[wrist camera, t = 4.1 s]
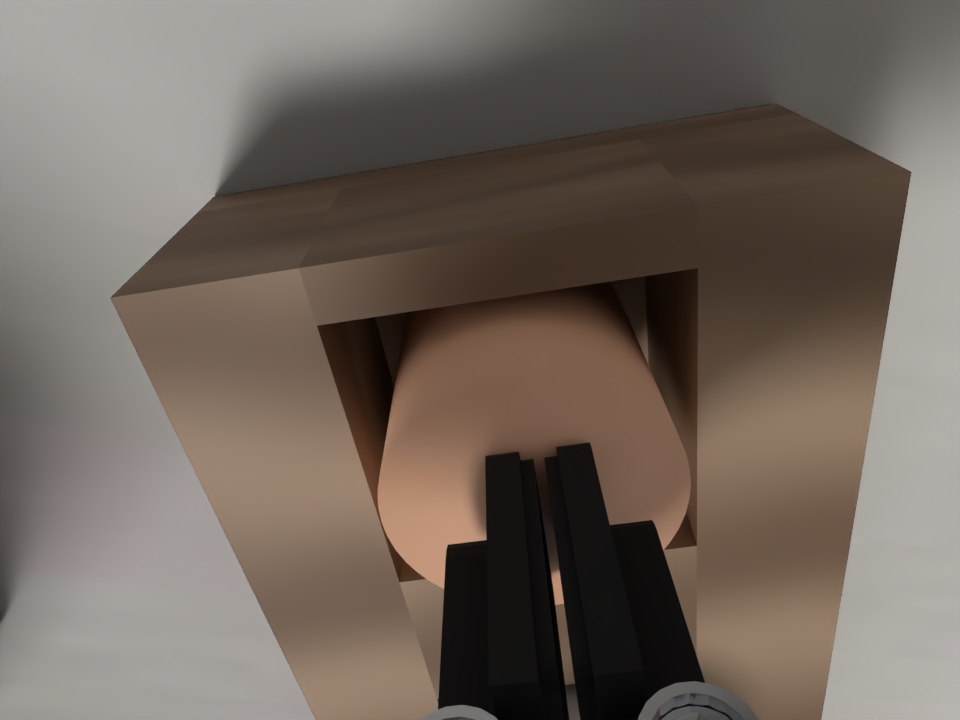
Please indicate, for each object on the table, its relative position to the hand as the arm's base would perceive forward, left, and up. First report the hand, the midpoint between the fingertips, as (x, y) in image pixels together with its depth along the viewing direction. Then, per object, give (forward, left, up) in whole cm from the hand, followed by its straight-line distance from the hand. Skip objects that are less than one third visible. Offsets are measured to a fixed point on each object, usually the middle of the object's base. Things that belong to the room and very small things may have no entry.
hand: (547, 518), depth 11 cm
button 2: (0, 0, -5) cm, 5 cm away
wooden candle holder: (+10, 0, -7) cm, 12 cm away
